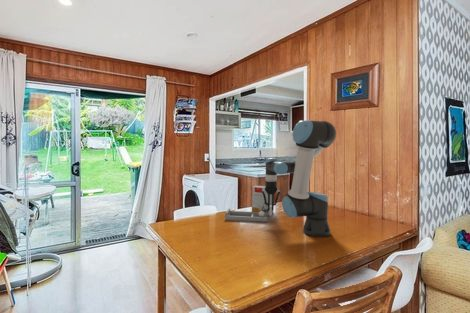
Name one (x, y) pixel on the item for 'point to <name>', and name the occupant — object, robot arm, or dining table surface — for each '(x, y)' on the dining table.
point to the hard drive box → (260, 200)
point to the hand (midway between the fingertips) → (270, 215)
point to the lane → (245, 216)
